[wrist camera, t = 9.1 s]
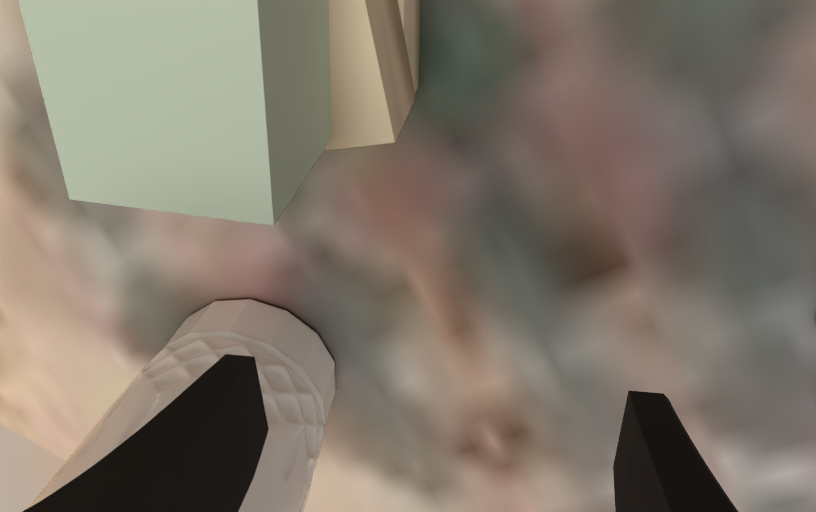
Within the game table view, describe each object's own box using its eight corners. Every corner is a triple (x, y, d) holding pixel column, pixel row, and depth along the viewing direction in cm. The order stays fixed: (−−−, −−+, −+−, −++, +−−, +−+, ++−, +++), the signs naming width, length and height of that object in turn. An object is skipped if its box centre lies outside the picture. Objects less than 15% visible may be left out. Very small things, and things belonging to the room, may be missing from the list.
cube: (327, -49, 14) (256, -4, 10) (330, 138, 16) (273, 225, 12) (138, -64, 14) (11, -26, 11) (166, 120, 16) (69, 199, 13)
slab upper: (366, -166, 15) (330, -163, 12) (415, 97, 18) (395, 142, 15) (128, -111, 16) (53, -98, 14) (211, 123, 19) (162, 169, 17)
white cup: (130, 310, 28) (-47, 521, 19) (294, 261, 25) (170, 483, 17) (229, 442, 31) (115, 669, 23) (383, 413, 28) (316, 658, 20)
